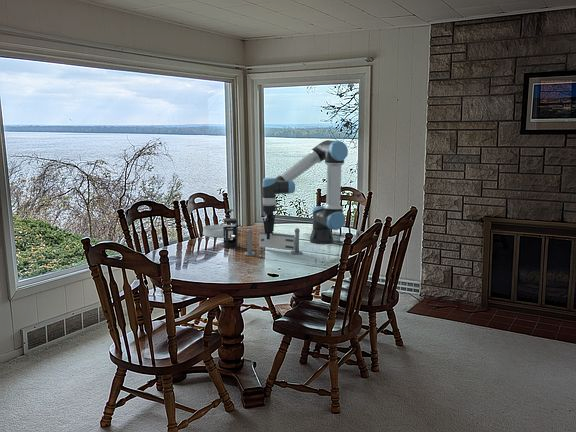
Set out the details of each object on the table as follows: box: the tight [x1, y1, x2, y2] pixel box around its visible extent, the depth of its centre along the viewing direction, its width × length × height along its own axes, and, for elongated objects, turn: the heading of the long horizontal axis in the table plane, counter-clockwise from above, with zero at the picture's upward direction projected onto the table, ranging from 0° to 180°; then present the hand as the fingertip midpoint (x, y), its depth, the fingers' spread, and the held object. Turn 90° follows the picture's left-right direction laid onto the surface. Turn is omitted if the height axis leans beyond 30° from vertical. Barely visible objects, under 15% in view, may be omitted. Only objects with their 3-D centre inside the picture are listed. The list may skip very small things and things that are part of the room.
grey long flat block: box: [258, 231, 295, 252], centre depth 316 cm, size 23×3×9 cm, turn 62°
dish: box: [202, 224, 233, 238], centre depth 367 cm, size 22×22×5 cm
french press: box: [222, 209, 239, 249], centre depth 327 cm, size 12×9×23 cm
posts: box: [243, 227, 304, 257], centre depth 308 cm, size 34×6×15 cm, turn 96°
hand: (269, 244), depth 314 cm, fingers closed
